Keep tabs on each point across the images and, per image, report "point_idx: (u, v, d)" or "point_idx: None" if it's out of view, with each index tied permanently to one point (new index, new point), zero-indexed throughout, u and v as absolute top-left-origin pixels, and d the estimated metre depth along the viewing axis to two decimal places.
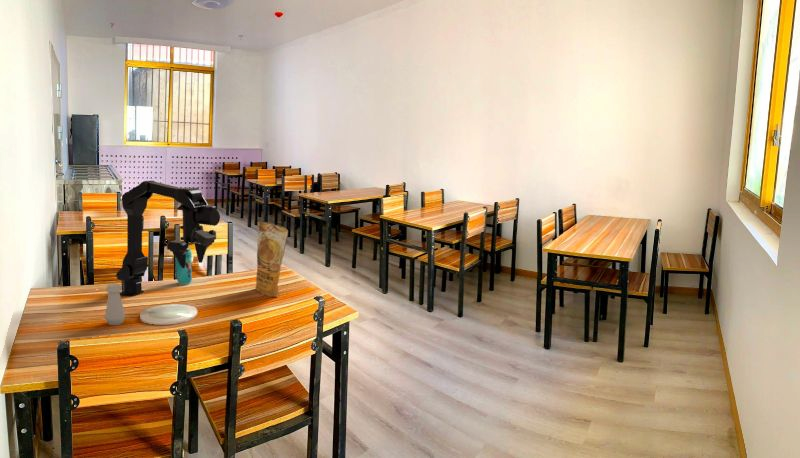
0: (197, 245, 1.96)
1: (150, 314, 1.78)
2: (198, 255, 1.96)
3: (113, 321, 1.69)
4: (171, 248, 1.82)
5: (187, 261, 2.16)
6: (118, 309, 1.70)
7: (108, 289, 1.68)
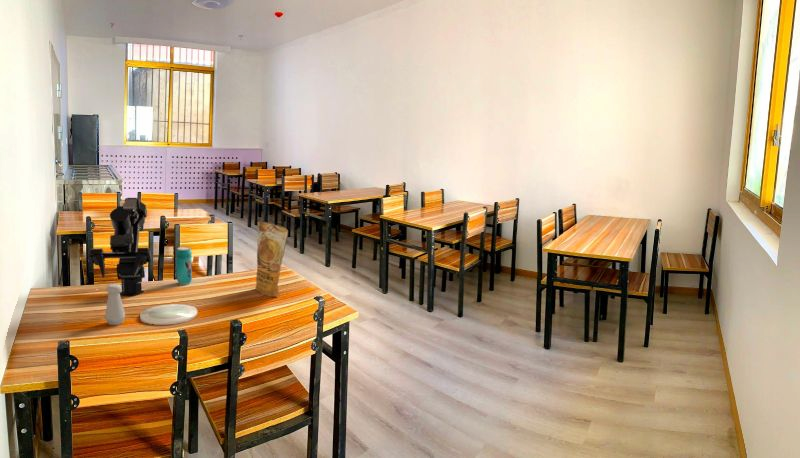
0: None
1: (150, 314, 1.78)
2: None
3: (113, 321, 1.69)
4: None
5: (187, 261, 2.16)
6: (118, 309, 1.70)
7: (108, 289, 1.68)
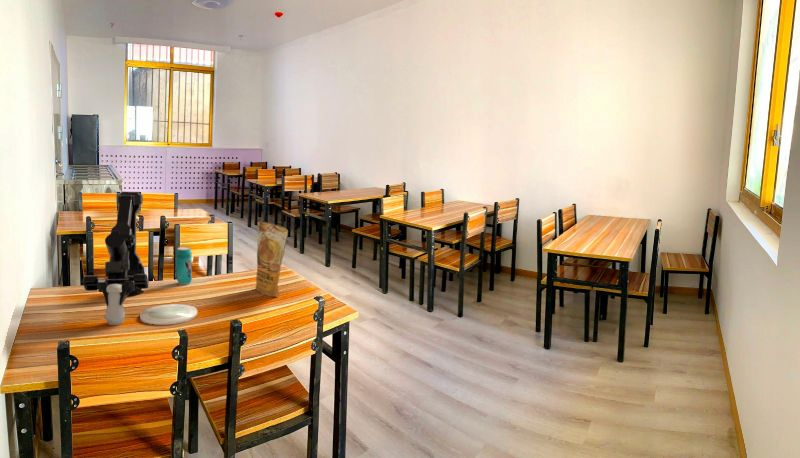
0: None
1: (150, 314, 1.78)
2: None
3: (113, 321, 1.69)
4: None
5: (187, 261, 2.16)
6: (118, 309, 1.70)
7: (108, 289, 1.68)
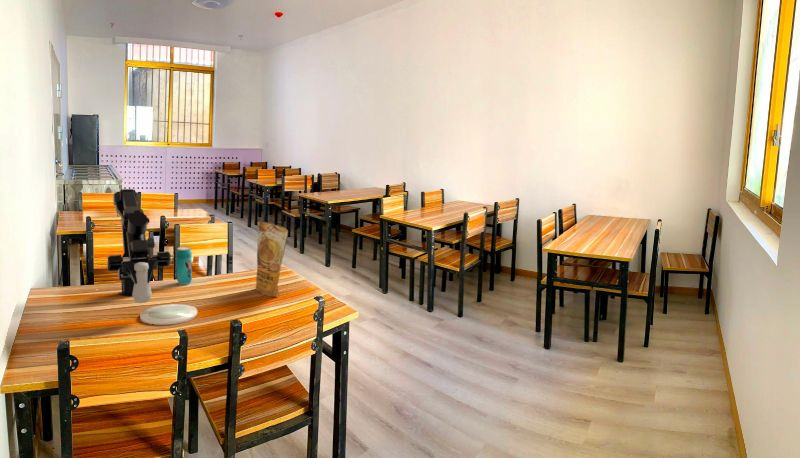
0: None
1: (150, 314, 1.78)
2: None
3: (143, 298, 1.72)
4: (107, 266, 1.71)
5: (187, 261, 2.16)
6: (147, 287, 1.73)
7: (137, 267, 1.70)
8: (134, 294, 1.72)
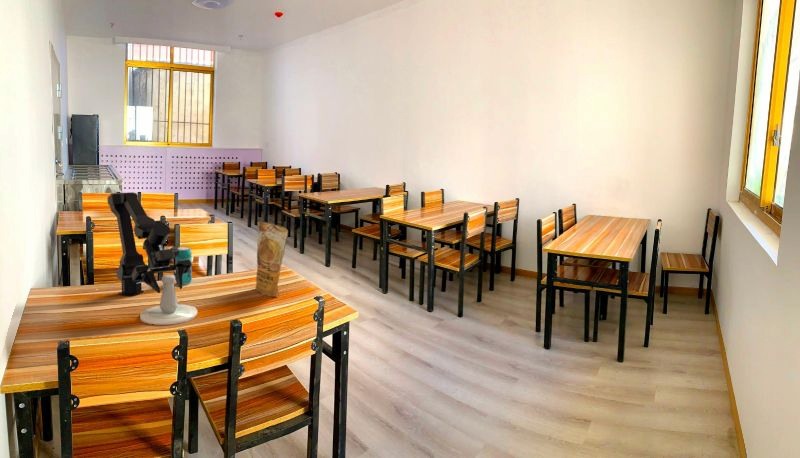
0: (175, 275, 1.85)
1: (150, 314, 1.78)
2: (177, 283, 1.83)
3: (172, 309, 1.79)
4: (134, 276, 1.75)
5: None
6: (175, 298, 1.80)
7: (166, 279, 1.77)
8: (163, 305, 1.78)
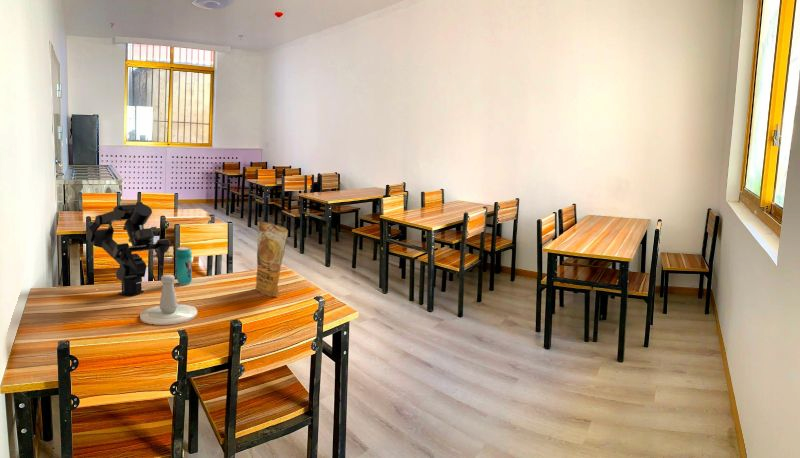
0: (157, 253, 1.97)
1: (150, 314, 1.78)
2: (159, 261, 1.95)
3: (171, 309, 1.79)
4: (115, 254, 1.86)
5: (187, 261, 2.16)
6: (174, 298, 1.80)
7: (166, 279, 1.77)
8: (163, 306, 1.78)
